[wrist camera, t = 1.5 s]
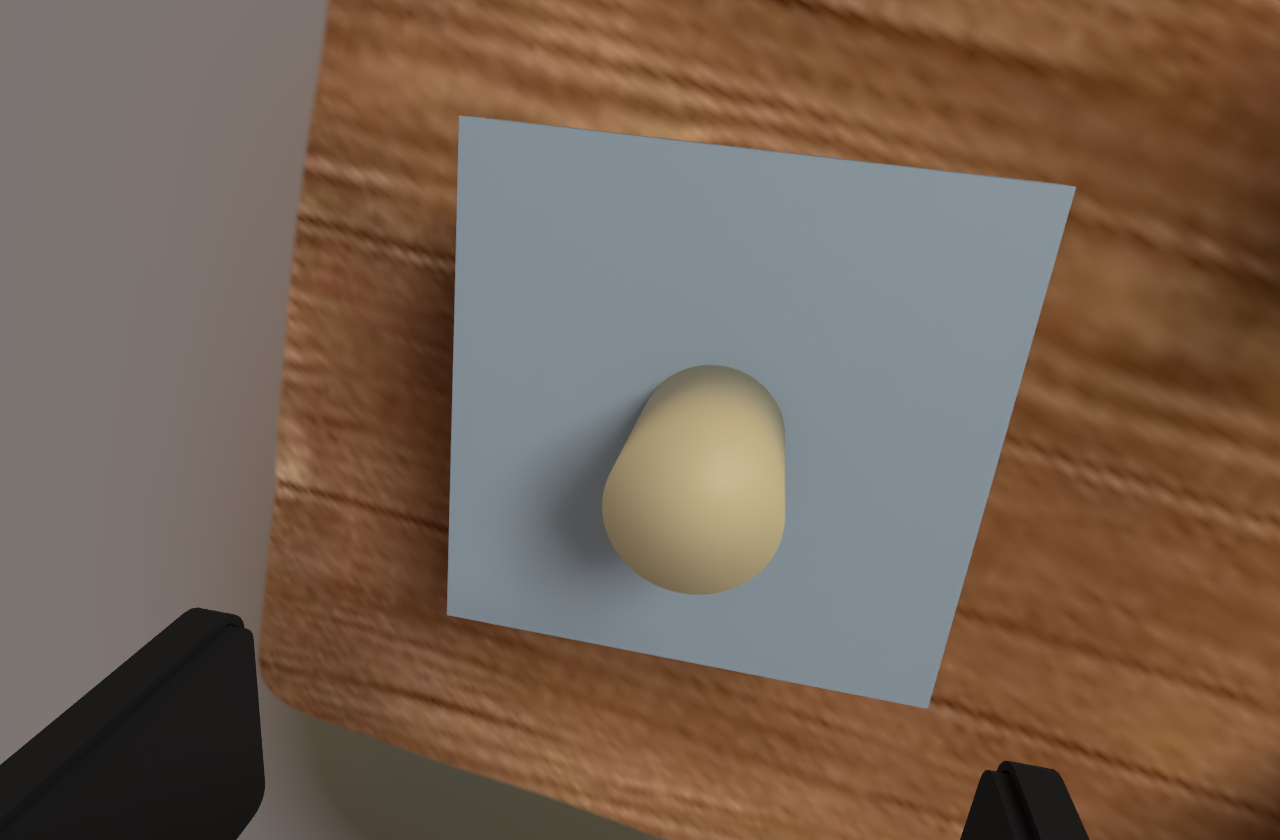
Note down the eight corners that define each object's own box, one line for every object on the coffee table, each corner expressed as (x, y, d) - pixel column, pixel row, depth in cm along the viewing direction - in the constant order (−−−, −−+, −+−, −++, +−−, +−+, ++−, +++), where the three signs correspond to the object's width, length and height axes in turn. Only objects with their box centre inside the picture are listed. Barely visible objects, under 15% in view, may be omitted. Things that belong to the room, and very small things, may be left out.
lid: (1059, 183, 20) (1172, 204, 14) (921, 683, 25) (962, 847, 19) (475, 116, 22) (363, 109, 16) (460, 594, 27) (372, 720, 21)
